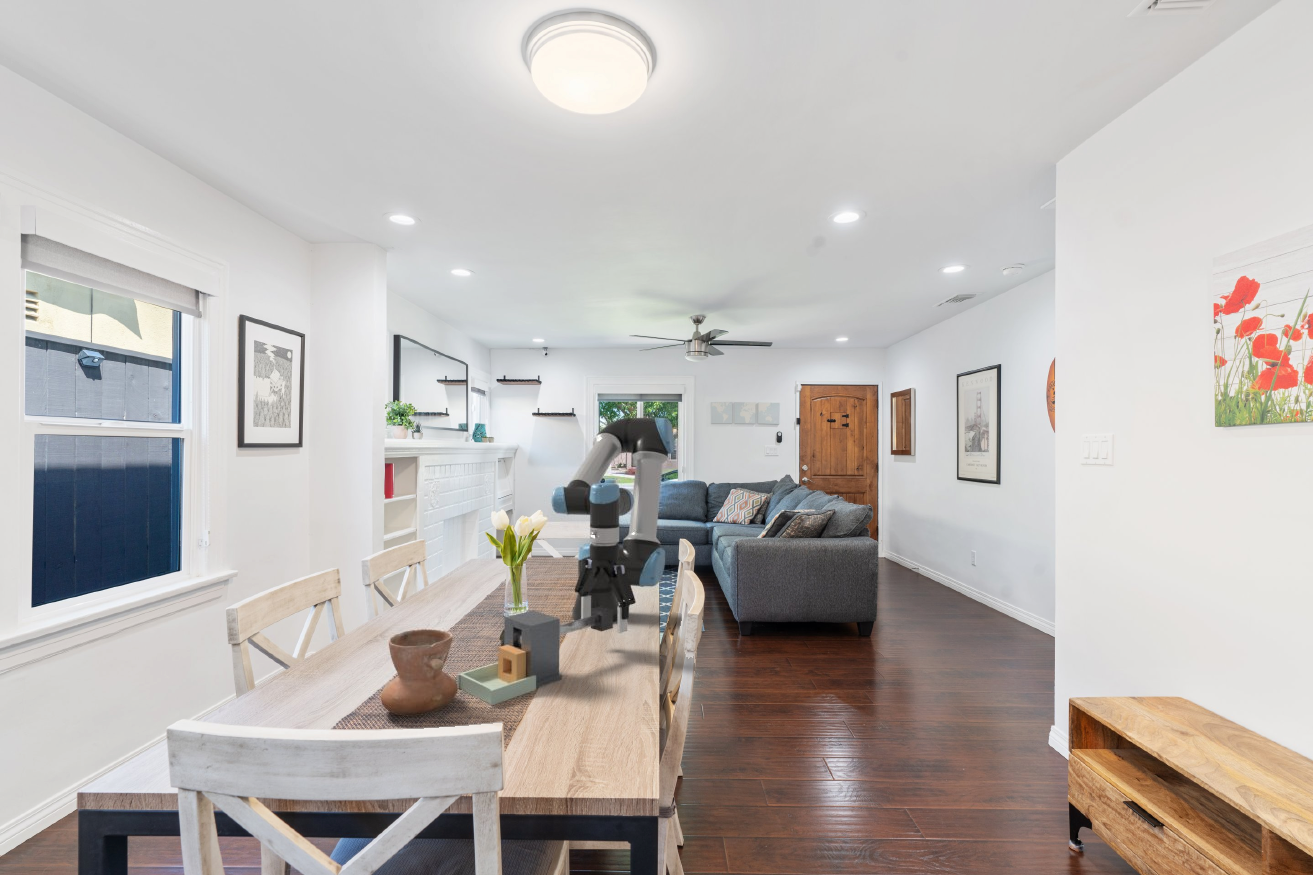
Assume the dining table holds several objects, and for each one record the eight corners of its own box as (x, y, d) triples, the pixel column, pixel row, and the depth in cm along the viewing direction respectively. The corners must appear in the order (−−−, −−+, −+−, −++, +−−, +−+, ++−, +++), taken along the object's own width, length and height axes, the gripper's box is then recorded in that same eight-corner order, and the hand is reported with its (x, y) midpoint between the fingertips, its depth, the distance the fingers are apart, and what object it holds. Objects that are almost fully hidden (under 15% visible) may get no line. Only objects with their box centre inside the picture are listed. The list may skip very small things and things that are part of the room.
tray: (501, 674, 142) (501, 661, 142) (535, 689, 133) (536, 675, 133) (457, 687, 133) (457, 674, 133) (491, 705, 124) (491, 690, 124)
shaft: (602, 624, 159) (602, 605, 159) (612, 627, 156) (613, 608, 157) (515, 649, 139) (515, 627, 139) (525, 653, 136) (526, 631, 136)
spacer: (507, 675, 139) (507, 644, 139) (525, 683, 135) (526, 651, 135) (497, 678, 137) (498, 647, 137) (516, 686, 133) (516, 654, 133)
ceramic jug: (472, 710, 122) (473, 638, 123) (399, 731, 112) (401, 653, 113) (434, 685, 135) (435, 621, 136) (365, 703, 125) (367, 633, 126)
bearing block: (529, 666, 147) (530, 609, 147) (561, 679, 139) (562, 619, 139) (501, 675, 141) (502, 616, 141) (533, 689, 133) (533, 626, 133)
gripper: (561, 539, 163) (561, 619, 162) (628, 551, 146) (628, 640, 146) (583, 536, 168) (582, 613, 168) (650, 547, 152) (649, 633, 151)
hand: (603, 626), depth 157 cm, fingers open, 13 cm apart
